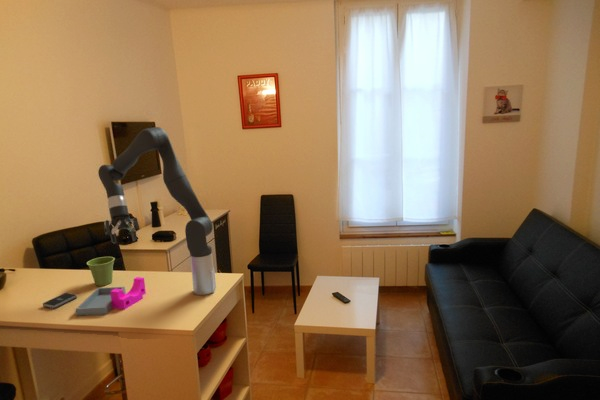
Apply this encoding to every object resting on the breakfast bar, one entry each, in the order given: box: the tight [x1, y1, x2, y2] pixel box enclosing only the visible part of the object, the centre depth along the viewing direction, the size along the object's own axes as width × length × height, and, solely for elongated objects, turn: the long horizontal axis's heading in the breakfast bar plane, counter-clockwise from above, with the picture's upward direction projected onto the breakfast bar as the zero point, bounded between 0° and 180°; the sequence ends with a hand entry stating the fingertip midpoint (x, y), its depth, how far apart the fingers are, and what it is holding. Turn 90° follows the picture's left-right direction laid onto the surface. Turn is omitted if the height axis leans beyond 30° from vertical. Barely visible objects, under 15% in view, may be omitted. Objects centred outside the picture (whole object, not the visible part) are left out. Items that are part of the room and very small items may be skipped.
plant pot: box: [86, 256, 116, 287], centre depth 185 cm, size 12×12×11 cm
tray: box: [75, 286, 127, 317], centre depth 164 cm, size 12×20×3 cm, turn 3°
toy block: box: [110, 276, 147, 310], centre depth 166 cm, size 15×6×8 cm, turn 159°
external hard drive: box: [42, 292, 78, 310], centre depth 167 cm, size 7×11×2 cm, turn 159°
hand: (124, 242), depth 174 cm, fingers open, 8 cm apart
